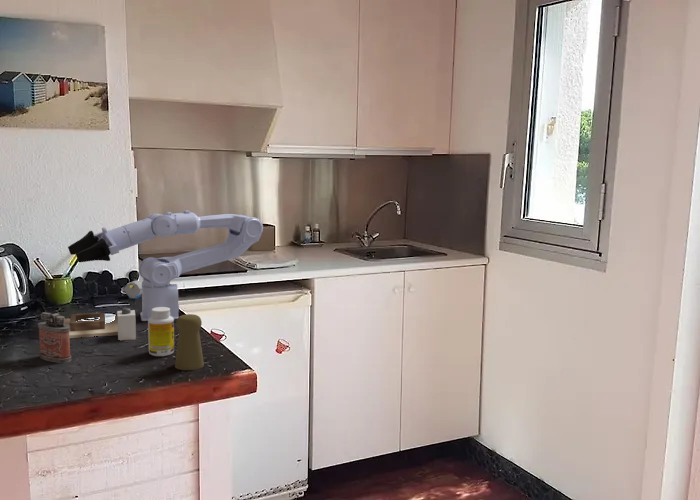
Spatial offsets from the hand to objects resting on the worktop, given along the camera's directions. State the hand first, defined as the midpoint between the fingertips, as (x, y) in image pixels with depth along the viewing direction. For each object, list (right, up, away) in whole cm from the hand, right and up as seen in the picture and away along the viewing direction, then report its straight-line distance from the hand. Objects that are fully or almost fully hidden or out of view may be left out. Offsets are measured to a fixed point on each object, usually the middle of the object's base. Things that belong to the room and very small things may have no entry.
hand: (73, 254), depth 165 cm
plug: (+15, -20, -4) cm, 25 cm away
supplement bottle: (+26, -22, -16) cm, 38 cm away
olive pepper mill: (+34, -24, -23) cm, 48 cm away
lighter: (+5, -23, -21) cm, 31 cm away
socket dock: (+3, -19, +2) cm, 19 cm away
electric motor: (+4, -14, +35) cm, 38 cm away
